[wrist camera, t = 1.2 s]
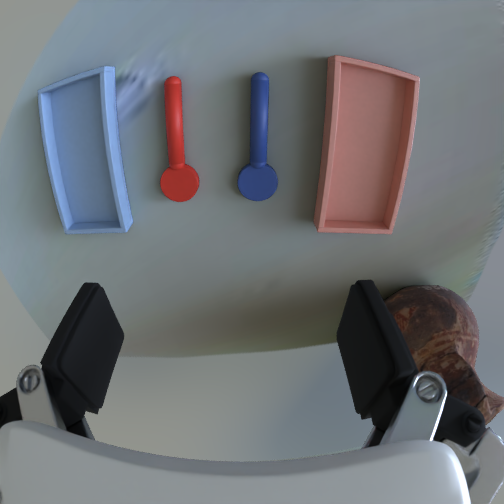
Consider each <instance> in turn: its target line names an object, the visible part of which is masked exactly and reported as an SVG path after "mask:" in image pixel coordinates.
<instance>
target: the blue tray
mask: <svg viewBox="0 0 504 504" xmlns="http://www.w3.org/2000/svg"><path fill="white" fill-rule="evenodd" d="M38 105H39V116H40V125H41V132H42V139H43V146H44V152H45V157H46V163H47V168H48V172H49V177H50V181H51V185H52V190H53V194H54V197H55V201H56V205H57V208H58V212H59V215H60V219H61V222H62V225H63V228H64V231H65V234H87V233H124V232H127V231H128V229H129V228H130V226H131V225H132V224H133V219H132V215H131V210H130V205H129V199H128V194H127V188H126V182H125V176H124V170H123V163H122V156H121V148H120V140H119V130H118V120H117V108H116V92H115V67H111V66H103V67H99V68H96V69H93V70H90V71H86V72H83V73H80V74H77V75H74V76H72V77H69V78H66V79H64V80H61V81H58V82H56V83H53V84H51V85H48V86H46V87H44V88H41V89H39V90H38Z"/></svg>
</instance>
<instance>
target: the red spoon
mask: <svg viewBox="0 0 504 504" xmlns="http://www.w3.org/2000/svg"><path fill="white" fill-rule="evenodd" d="M164 92H165V115H166V132H167V145H168V157H169V165H170V167H168V168H167V169H166V170H165V172H164V173H163V174H162V177H161V180H160V185H161V189H162V191H163V193H164V194H165V196H166V197H168V198H169V199H171V200H173V201H177V202H183V201H187V200H189V199H191V198H192V197H193V196H194V195H195V193H196V191H197V189H198V187H199V177H198V174H197V173H196V171H195V170H194V169H193V168H192V167H191V166H189V165H187V164H185V155H184V139H183V120H182V91H181V80H180V79H179V78H178V77H175V76H172V77H169V78H168V79H166V81H165V83H164Z"/></svg>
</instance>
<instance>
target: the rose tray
mask: <svg viewBox="0 0 504 504" xmlns="http://www.w3.org/2000/svg"><path fill="white" fill-rule="evenodd" d="M419 81H420V77H418V76H415V75H412V74H409V73H406V72H403V71H400V70H397V69H393V68H390V67H386V66H383V65H379V64H375V63H371V62H367V61H363V60H358V59H354V58H349V57H344V56H338V55H334V56H331V57H328V70H327V90H326V106H325V120H324V132H323V144H322V154H321V164H320V173H319V182H318V191H317V199H316V206H315V214H314V221H313V222H314V224H315V227H316V229H317V231H318V232H332V233H370V234H392V231H393V227H394V224H395V220H396V217H397V213H398V209H399V205H400V201H401V197H402V193H403V189H404V184H405V180H406V175H407V170H408V165H409V160H410V154H411V149H412V143H413V136H414V130H415V122H416V114H417V105H418V95H419Z"/></svg>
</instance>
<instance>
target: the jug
mask: <svg viewBox="0 0 504 504" xmlns="http://www.w3.org/2000/svg"><path fill="white" fill-rule="evenodd" d="M384 303H385V305H386V307H387V309H388V311H389V313H391V314H392V315H393V316H394V318H395V320H396V322H397V324H398V326H399V328H400V330H401V333H402V335H403V337H404V339H405V341H406V343H407V345H408V348H409V350H410V352H411V354H412V357H413V359H414V361H415V364H416V366H417V368H418V371H419V372H422V371H432V372H435V373H437V374H438V375H440V376H441V378H442V379H443V380H444V382H445V384H446V388H447V394H449V395H451V396H453V397H455V398H457V399H459V400H461V401H463V402H465V403H467V404H469V405H471V406H473V407H475V408H477V409H478V410H480V411H481V413H482V414H483V416H484V418H485V425H487V424H488V423H489V422H491V420H492V419H493V418H494V417H495V416H496V414H498V413H499V412H500V411H501V410H503V409H504V397H501V396H499V395H497V394H495V393H494V392H492V391H491V390H489V389H488V388H487V387H485V386H484V384H483V383H482V382H481V381H480V379H479V377H478V376H477V374H476V371H475V368H474V367H475V362H476V357H477V351H478V345H479V330H478V325H477V321H476V318H475V316H474V314H473V312H472V310H471V309H470V307H469V306H468V304H467V303H466V302H465V301H464V300H463V299H462V298H461V297H460V296H459V295H457V294H456V293H455V292H453V291H451V290H449V289H447V288H444V287H441V286H438V285H420V286H410V287H407V288H404V289H402V290H400V291H398V292H396V293H395V294H393V295H392V296H390V297H389V298H388V299H386V300H385V301H384Z"/></svg>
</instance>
